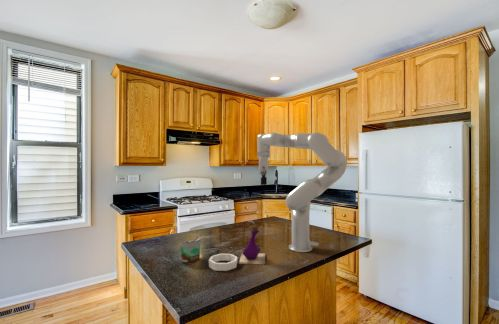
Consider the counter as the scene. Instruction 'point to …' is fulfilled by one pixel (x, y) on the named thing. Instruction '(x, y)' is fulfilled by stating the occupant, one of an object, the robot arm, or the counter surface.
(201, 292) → the counter surface
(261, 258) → the coaster board
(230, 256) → the holder ring
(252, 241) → the perfume bottle
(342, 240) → the counter surface
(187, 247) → the food container
